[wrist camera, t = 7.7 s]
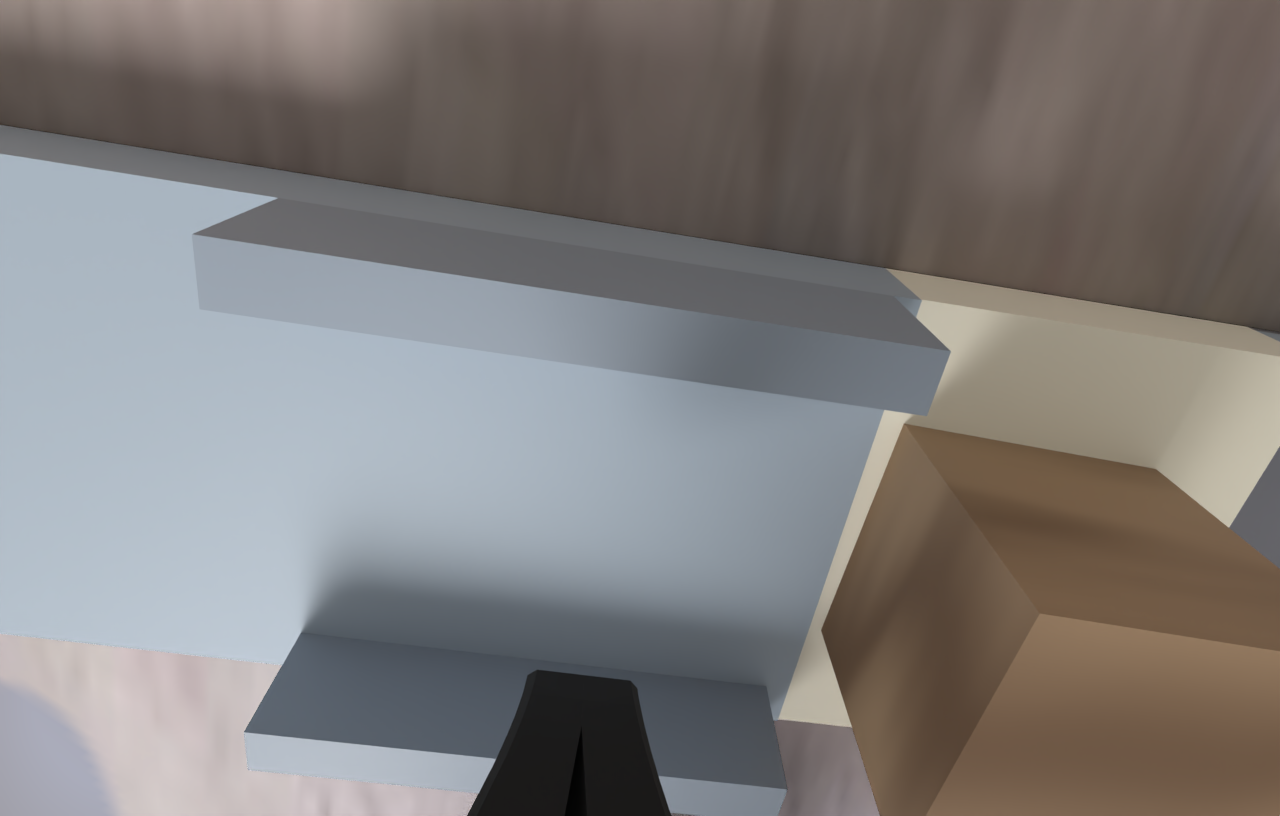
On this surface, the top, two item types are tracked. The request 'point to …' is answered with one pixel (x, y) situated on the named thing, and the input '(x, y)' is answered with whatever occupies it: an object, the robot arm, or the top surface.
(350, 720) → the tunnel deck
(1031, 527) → the block
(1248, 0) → the top surface
